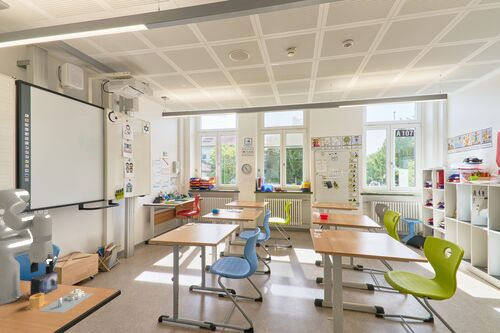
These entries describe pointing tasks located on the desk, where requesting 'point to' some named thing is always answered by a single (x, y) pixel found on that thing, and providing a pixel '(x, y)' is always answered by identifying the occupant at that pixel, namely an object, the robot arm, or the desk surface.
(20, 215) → the robot arm
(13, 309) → the desk surface
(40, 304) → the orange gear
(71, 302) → the gear board
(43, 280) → the small box
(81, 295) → the cream gear
